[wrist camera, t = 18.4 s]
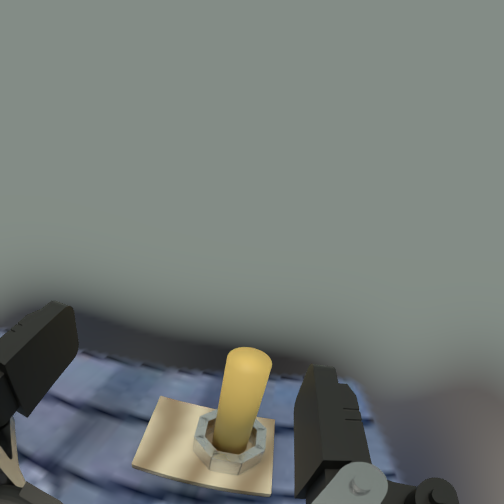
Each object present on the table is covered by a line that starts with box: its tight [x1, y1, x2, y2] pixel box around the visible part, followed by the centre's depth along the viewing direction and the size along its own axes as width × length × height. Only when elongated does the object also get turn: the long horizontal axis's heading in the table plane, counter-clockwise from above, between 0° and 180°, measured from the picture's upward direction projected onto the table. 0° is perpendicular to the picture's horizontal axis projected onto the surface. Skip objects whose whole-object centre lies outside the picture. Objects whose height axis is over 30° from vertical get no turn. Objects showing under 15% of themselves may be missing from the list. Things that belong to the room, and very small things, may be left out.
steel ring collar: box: [193, 409, 267, 475], centre depth 34 cm, size 9×9×4 cm
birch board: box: [132, 396, 275, 497], centre depth 34 cm, size 17×13×1 cm
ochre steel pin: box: [212, 347, 272, 455], centre depth 31 cm, size 4×4×16 cm
